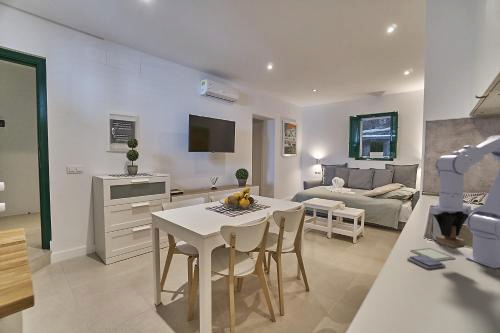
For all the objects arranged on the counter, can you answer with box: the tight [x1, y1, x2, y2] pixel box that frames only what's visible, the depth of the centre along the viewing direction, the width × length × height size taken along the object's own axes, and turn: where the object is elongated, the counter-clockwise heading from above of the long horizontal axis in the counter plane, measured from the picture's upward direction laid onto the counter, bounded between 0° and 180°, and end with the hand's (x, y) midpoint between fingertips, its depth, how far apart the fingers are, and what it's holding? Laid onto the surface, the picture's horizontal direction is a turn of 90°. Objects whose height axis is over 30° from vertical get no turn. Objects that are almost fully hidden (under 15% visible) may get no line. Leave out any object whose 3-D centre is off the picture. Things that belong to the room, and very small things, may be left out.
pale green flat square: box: [410, 247, 456, 262], centre depth 82 cm, size 9×9×1 cm
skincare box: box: [432, 216, 443, 241], centre depth 95 cm, size 6×4×12 cm
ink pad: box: [406, 255, 446, 270], centre depth 75 cm, size 7×7×1 cm
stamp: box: [435, 225, 466, 250], centre depth 73 cm, size 5×5×6 cm
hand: (449, 235), depth 73 cm, fingers closed on stamp, 3 cm apart
